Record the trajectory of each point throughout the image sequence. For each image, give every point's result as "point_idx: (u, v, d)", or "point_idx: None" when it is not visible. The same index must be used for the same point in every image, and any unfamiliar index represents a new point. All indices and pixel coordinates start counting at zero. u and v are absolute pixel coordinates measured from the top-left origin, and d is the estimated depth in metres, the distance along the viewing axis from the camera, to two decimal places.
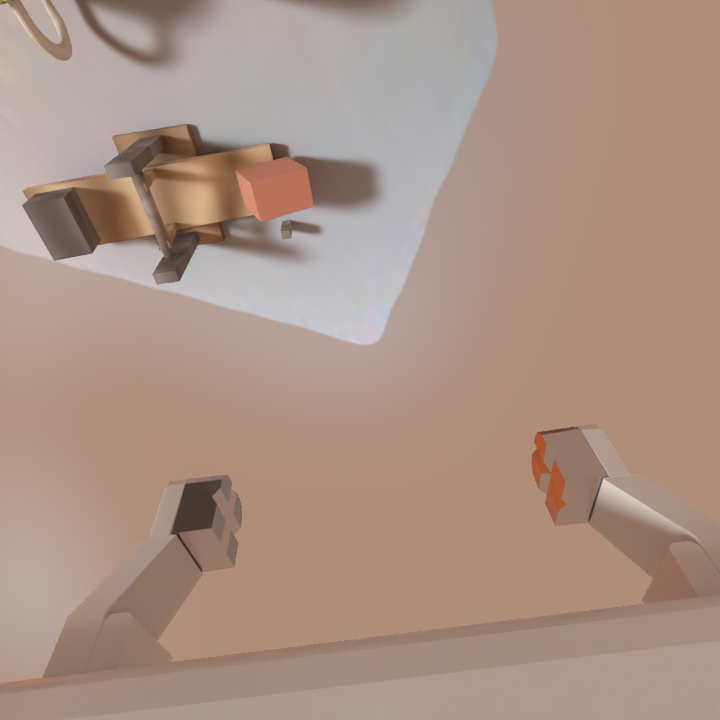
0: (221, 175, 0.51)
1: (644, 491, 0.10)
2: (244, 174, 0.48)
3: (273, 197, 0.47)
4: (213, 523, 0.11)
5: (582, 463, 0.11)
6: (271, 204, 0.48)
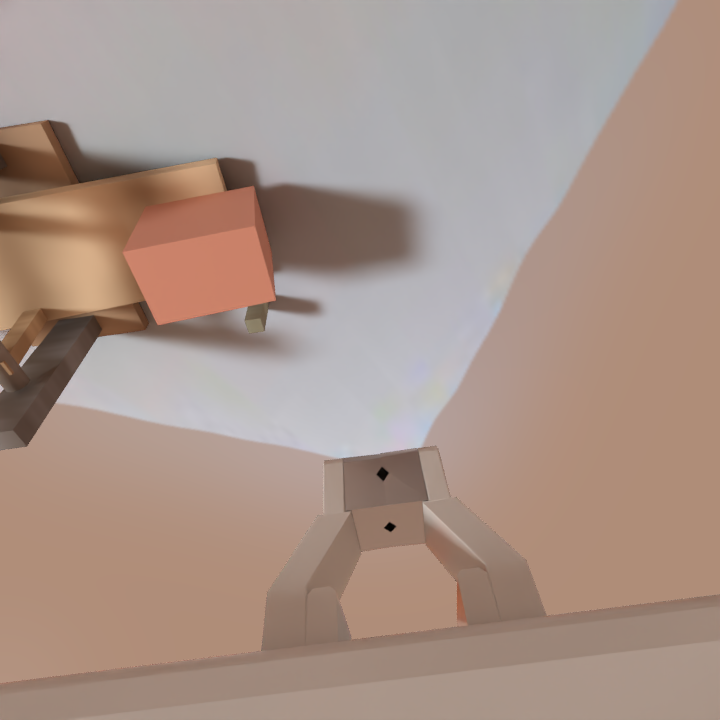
0: (122, 222, 0.26)
1: (455, 516, 0.10)
2: (143, 222, 0.24)
3: (181, 280, 0.22)
4: (385, 500, 0.11)
5: (408, 486, 0.11)
6: (178, 295, 0.23)
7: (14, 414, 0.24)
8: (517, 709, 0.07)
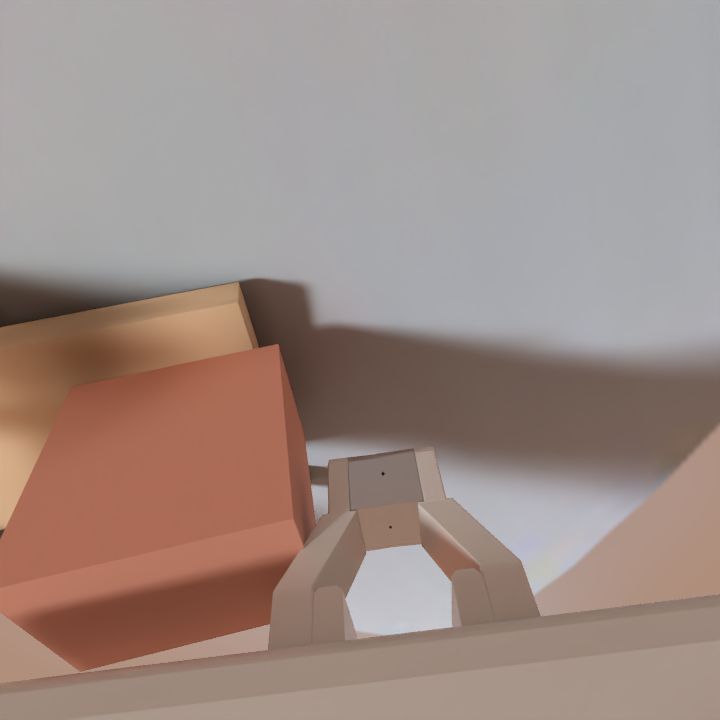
0: (56, 402, 0.14)
1: (451, 517, 0.10)
2: (54, 451, 0.11)
3: (125, 612, 0.10)
4: (391, 500, 0.11)
5: (403, 487, 0.11)
6: (120, 631, 0.10)
7: None
8: (517, 709, 0.07)
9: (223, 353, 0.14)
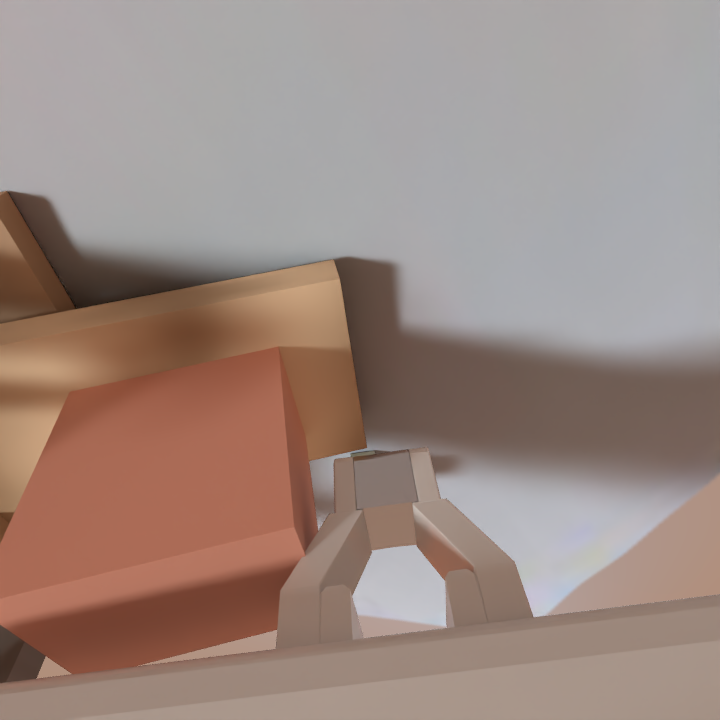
0: None
1: (444, 518, 0.10)
2: (52, 457, 0.11)
3: (125, 622, 0.10)
4: (397, 499, 0.11)
5: (398, 487, 0.11)
6: (121, 640, 0.10)
7: None
8: (517, 709, 0.07)
9: (318, 331, 0.14)
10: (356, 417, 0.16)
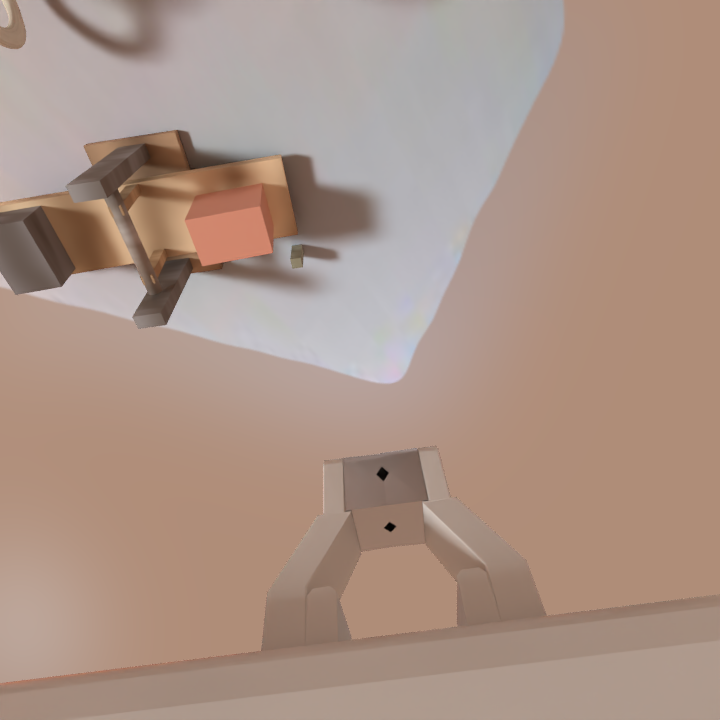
0: None
1: (455, 516, 0.10)
2: (195, 204, 0.39)
3: (217, 238, 0.38)
4: (385, 500, 0.11)
5: (408, 486, 0.11)
6: (215, 247, 0.38)
7: (158, 306, 0.40)
8: (517, 709, 0.07)
9: (275, 177, 0.41)
10: (292, 218, 0.44)
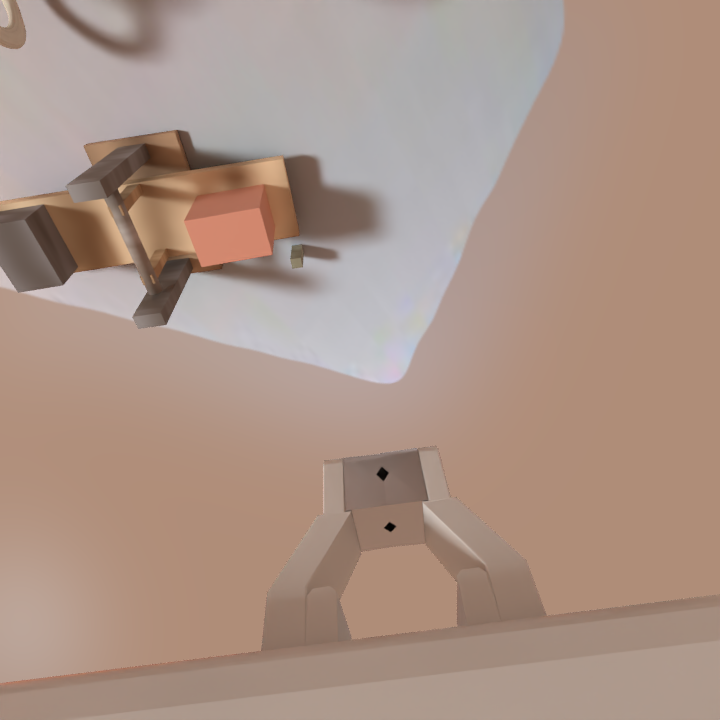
0: None
1: (455, 516, 0.10)
2: (195, 205, 0.39)
3: (216, 239, 0.38)
4: (385, 500, 0.11)
5: (408, 486, 0.11)
6: (214, 248, 0.38)
7: (158, 306, 0.40)
8: (517, 709, 0.07)
9: (277, 179, 0.41)
10: (293, 219, 0.43)
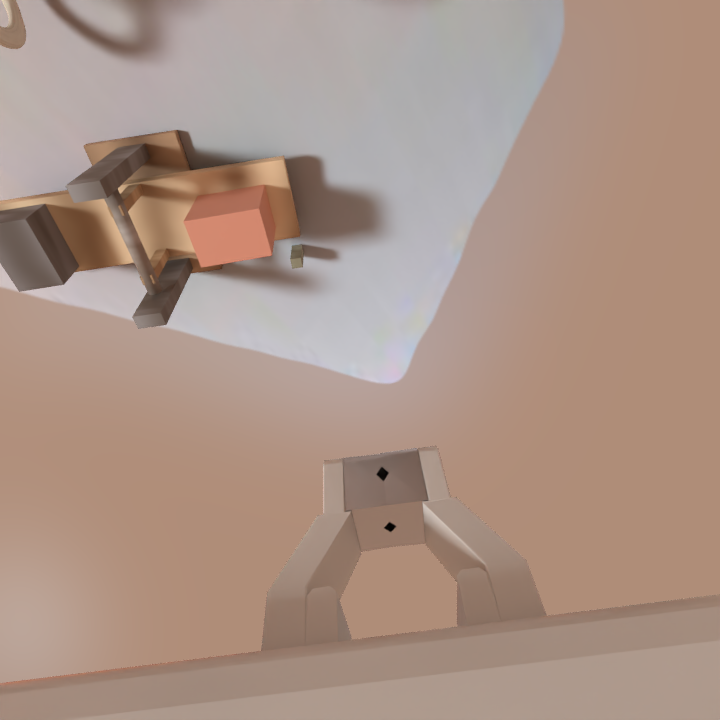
0: None
1: (455, 516, 0.10)
2: (196, 205, 0.39)
3: (215, 240, 0.38)
4: (385, 500, 0.11)
5: (408, 486, 0.11)
6: (213, 249, 0.38)
7: (158, 306, 0.40)
8: (517, 709, 0.07)
9: (277, 179, 0.41)
10: (294, 219, 0.43)
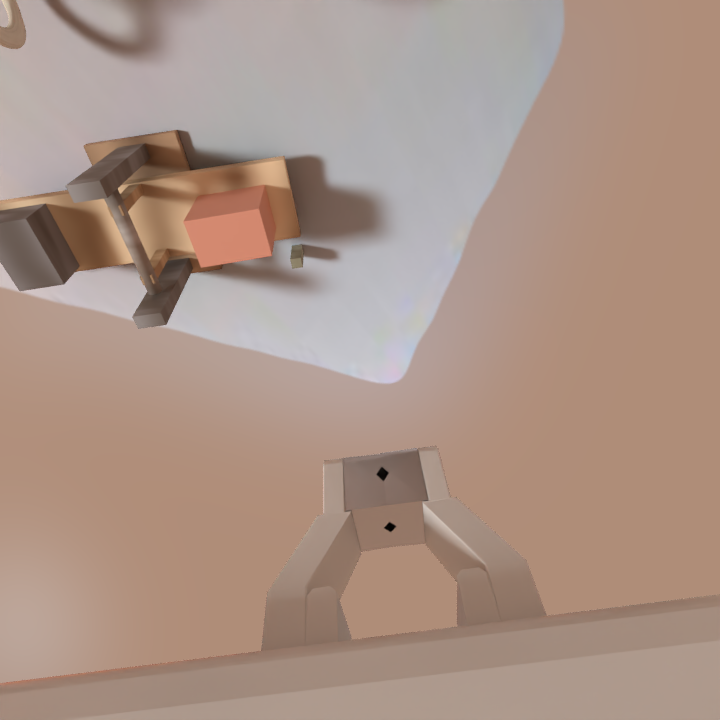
0: None
1: (456, 516, 0.10)
2: (196, 205, 0.39)
3: (215, 240, 0.37)
4: (386, 500, 0.11)
5: (408, 486, 0.11)
6: (213, 249, 0.38)
7: (158, 306, 0.40)
8: (517, 709, 0.07)
9: (278, 179, 0.41)
10: (294, 220, 0.43)
